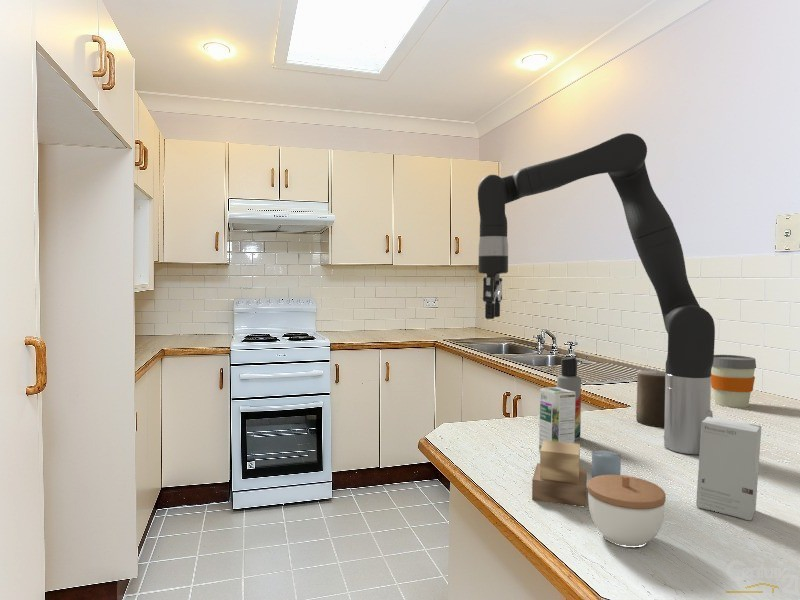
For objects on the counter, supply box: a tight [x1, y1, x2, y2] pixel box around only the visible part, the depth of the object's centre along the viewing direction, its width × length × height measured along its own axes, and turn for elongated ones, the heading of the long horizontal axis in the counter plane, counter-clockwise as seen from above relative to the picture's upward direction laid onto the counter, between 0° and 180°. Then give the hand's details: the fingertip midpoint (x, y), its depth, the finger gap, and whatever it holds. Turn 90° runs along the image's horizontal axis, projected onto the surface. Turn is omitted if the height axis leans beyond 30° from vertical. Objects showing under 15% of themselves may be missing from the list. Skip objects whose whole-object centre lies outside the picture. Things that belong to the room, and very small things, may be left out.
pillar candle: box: [635, 367, 666, 428], centre depth 144 cm, size 10×10×15 cm
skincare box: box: [695, 416, 762, 521], centre depth 88 cm, size 8×6×15 cm
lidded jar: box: [587, 474, 666, 546], centre depth 78 cm, size 11×11×9 cm
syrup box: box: [538, 386, 576, 453], centre depth 117 cm, size 6×6×14 cm
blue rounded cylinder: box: [591, 449, 622, 478], centre depth 102 cm, size 5×5×5 cm
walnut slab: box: [531, 462, 588, 508], centre depth 95 cm, size 9×9×4 cm
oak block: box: [539, 440, 581, 484], centre depth 95 cm, size 6×6×5 cm
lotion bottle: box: [556, 356, 582, 441], centre depth 129 cm, size 6×6×20 cm
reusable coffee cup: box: [711, 354, 757, 409], centre depth 165 cm, size 13×12×15 cm
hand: (492, 317), depth 135 cm, fingers open, 8 cm apart
